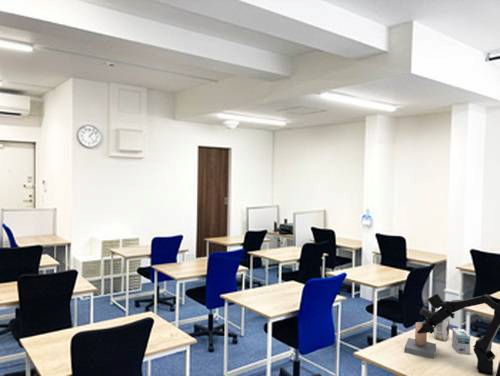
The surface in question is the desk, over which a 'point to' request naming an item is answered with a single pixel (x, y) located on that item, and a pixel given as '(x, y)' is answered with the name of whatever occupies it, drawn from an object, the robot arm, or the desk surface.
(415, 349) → the base block
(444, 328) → the juice carton
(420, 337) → the terracotta cylinder
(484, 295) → the robot arm
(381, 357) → the desk surface
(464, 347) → the light bulb box
